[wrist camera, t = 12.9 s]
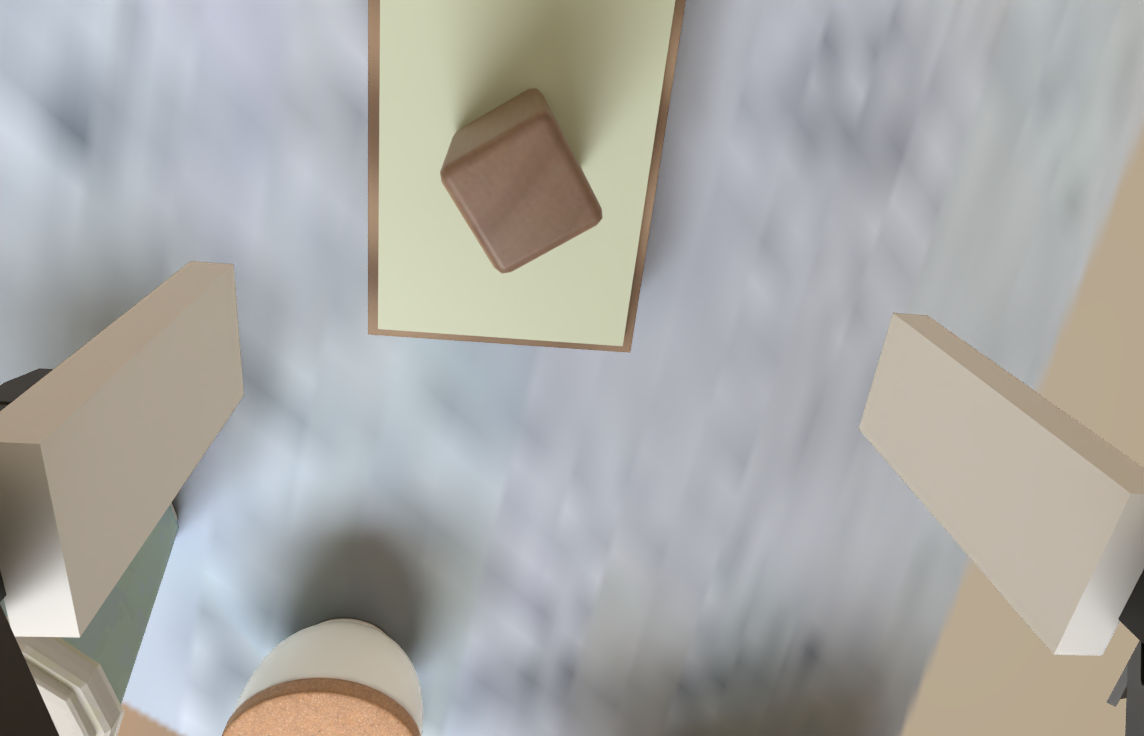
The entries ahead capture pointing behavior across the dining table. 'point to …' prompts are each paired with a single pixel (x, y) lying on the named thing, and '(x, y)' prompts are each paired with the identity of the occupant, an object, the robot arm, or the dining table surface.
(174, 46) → the dining table surface
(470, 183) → the wooden block
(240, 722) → the lidded jar
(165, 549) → the disposable coffee cup
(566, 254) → the walnut stand
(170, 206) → the dining table surface
